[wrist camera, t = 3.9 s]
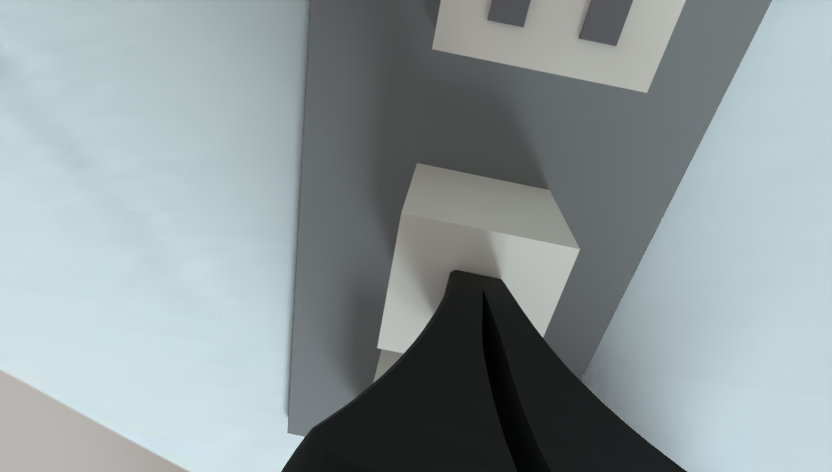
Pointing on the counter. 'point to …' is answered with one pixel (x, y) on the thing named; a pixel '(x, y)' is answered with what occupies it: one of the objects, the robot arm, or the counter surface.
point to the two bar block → (563, 36)
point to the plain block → (474, 248)
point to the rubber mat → (480, 168)
